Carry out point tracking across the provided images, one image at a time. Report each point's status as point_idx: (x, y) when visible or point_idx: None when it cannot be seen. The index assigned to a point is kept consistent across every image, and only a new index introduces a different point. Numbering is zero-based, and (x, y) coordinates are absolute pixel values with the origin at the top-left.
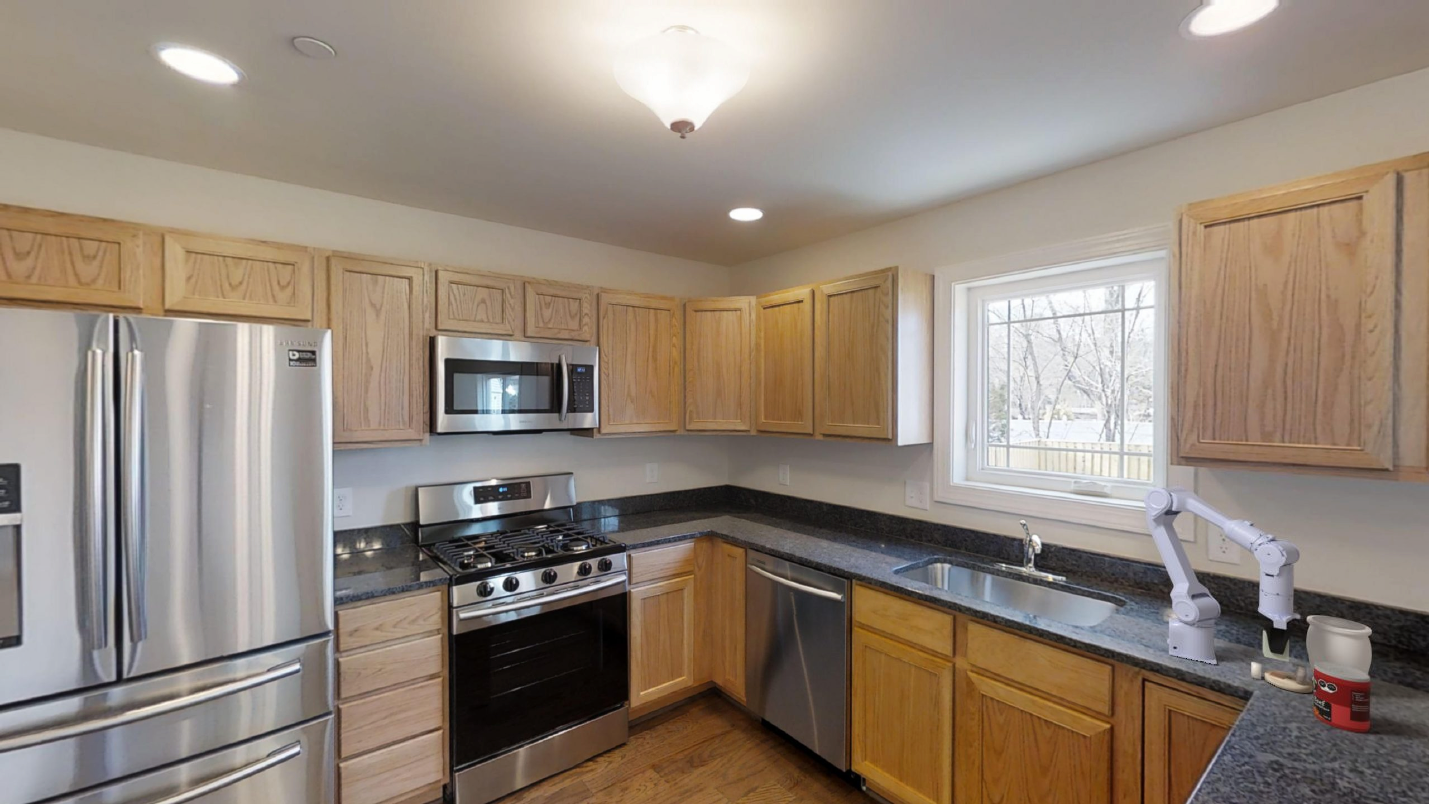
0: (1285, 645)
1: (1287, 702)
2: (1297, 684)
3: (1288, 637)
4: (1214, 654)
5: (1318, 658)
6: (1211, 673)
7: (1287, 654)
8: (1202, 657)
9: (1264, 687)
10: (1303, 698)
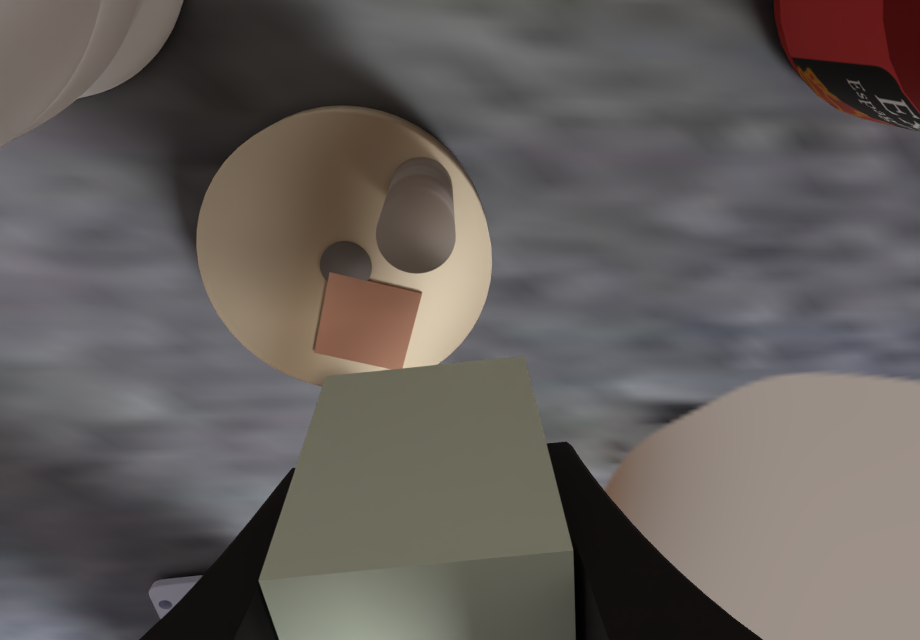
0: (628, 519)
1: (718, 248)
2: (459, 211)
3: (745, 630)
4: (179, 586)
5: (56, 86)
6: None
7: (537, 411)
8: None
9: (527, 357)
10: (560, 162)
